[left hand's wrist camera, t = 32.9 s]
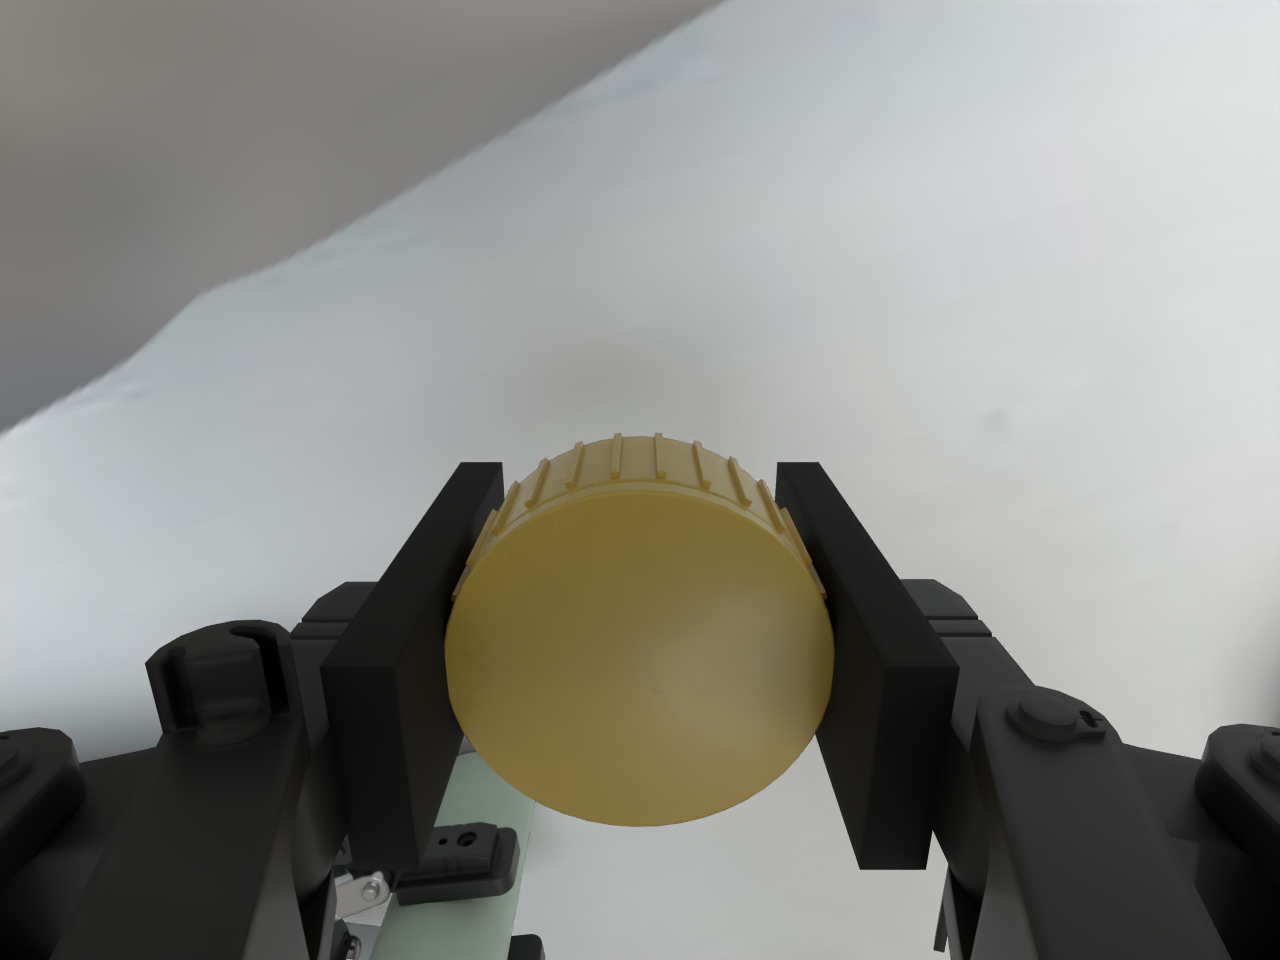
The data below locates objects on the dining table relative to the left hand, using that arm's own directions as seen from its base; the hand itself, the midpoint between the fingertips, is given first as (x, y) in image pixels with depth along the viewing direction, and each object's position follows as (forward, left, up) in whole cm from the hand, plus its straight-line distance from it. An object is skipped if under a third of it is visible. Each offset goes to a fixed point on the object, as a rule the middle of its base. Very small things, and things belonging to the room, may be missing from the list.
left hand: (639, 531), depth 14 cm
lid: (0, 0, +4) cm, 4 cm away
